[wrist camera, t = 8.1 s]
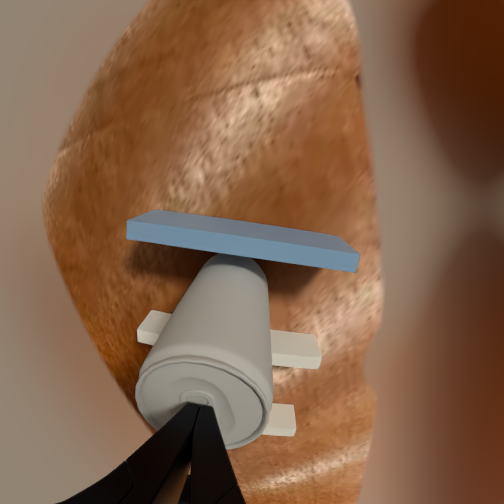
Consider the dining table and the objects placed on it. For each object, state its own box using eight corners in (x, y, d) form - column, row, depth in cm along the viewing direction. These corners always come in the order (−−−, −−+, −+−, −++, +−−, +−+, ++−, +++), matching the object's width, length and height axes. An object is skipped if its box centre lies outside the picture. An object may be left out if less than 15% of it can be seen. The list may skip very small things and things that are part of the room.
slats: (291, 412, 23) (294, 449, 19) (154, 391, 23) (139, 425, 19) (338, 236, 19) (360, 254, 14) (155, 209, 19) (127, 220, 14)
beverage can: (203, 316, 21) (154, 447, 9) (192, 252, 19) (112, 353, 8) (270, 312, 20) (277, 451, 9) (264, 246, 19) (268, 353, 8)
